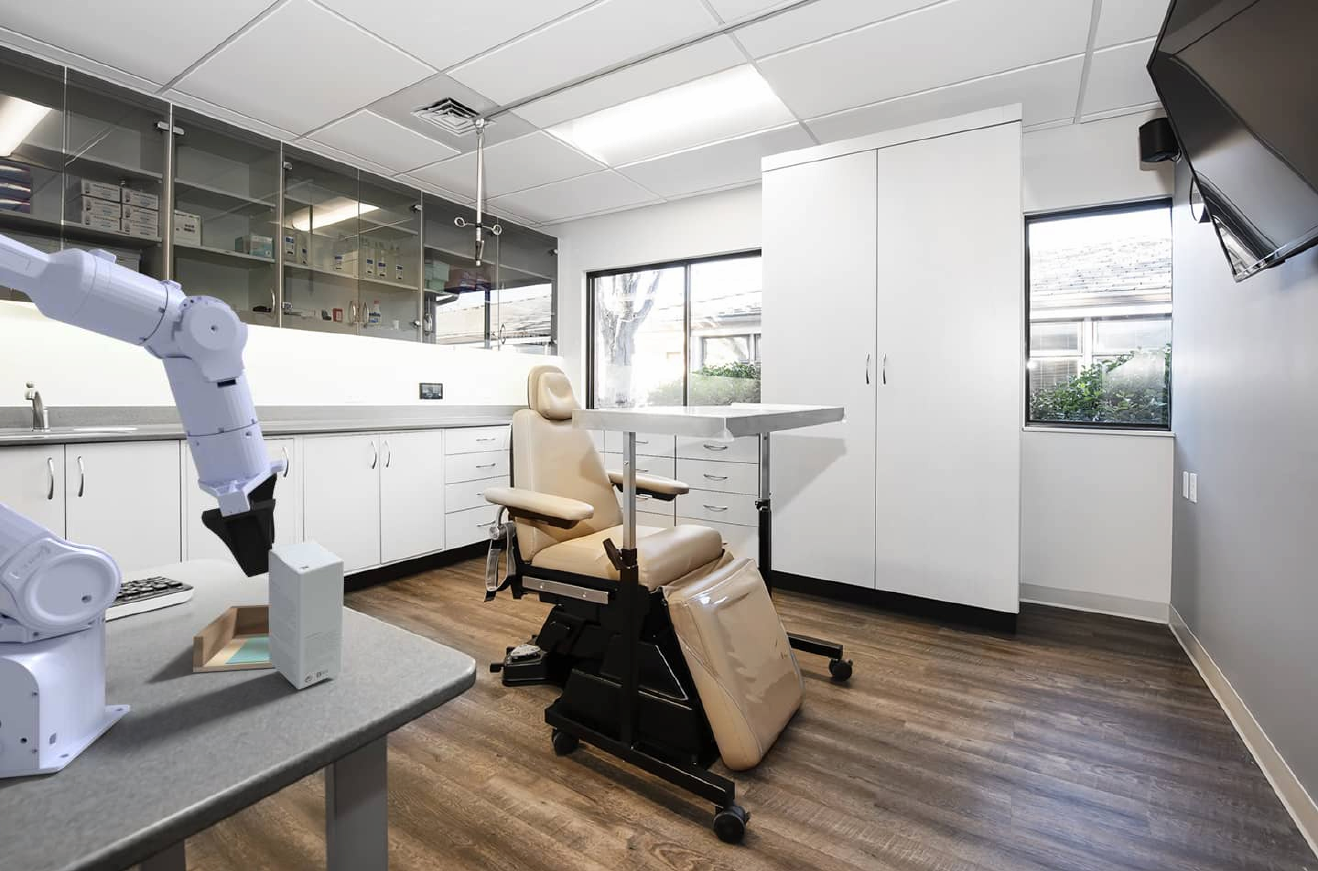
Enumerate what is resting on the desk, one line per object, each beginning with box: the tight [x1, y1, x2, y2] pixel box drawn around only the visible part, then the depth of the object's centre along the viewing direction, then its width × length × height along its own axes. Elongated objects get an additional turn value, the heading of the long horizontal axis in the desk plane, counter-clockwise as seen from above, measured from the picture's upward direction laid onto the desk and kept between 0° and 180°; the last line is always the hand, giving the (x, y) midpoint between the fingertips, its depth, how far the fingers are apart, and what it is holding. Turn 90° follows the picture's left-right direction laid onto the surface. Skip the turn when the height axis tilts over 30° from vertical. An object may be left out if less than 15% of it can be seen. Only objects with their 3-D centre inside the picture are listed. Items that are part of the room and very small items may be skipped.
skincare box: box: [268, 539, 345, 690], centre depth 59 cm, size 6×4×12 cm
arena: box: [192, 604, 275, 673], centre depth 66 cm, size 10×11×4 cm
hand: (262, 558), depth 62 cm, fingers open, 7 cm apart
